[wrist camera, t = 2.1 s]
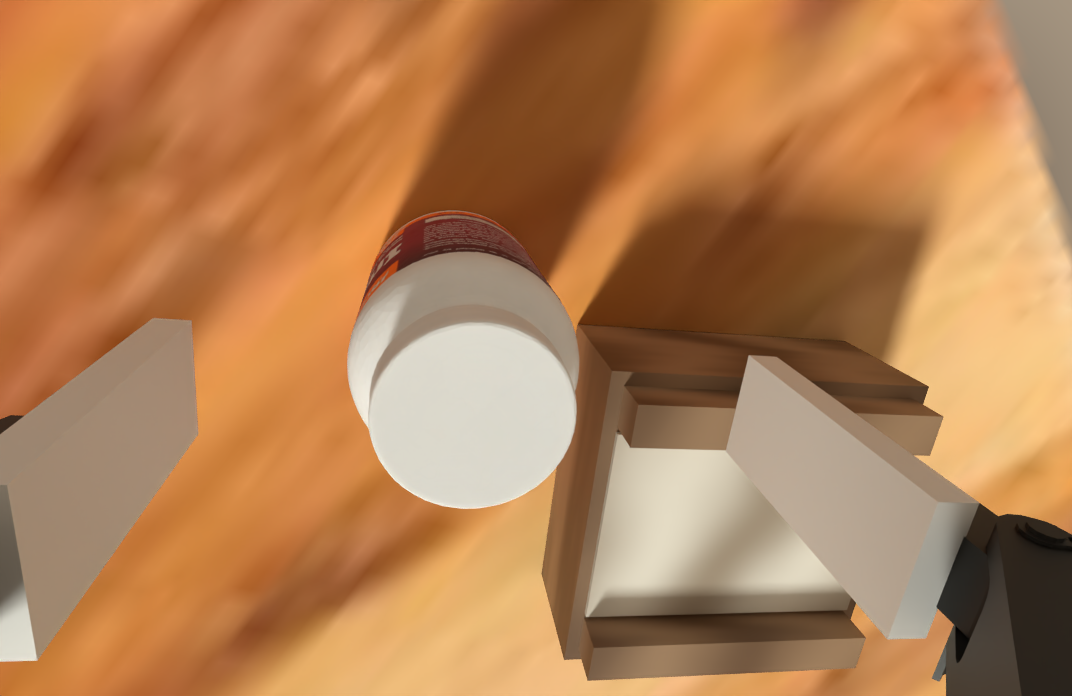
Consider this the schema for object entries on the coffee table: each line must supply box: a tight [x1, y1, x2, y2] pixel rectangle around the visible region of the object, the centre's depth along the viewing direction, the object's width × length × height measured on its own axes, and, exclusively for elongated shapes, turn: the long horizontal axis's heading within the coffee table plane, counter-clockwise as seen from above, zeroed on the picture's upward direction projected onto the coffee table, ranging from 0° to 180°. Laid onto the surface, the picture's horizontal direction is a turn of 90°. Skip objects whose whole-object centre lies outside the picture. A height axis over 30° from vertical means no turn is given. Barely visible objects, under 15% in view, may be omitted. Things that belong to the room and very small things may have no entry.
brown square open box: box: [542, 324, 943, 681], centre depth 26 cm, size 12×12×6 cm
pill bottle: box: [347, 210, 579, 509], centre depth 19 cm, size 6×6×11 cm
